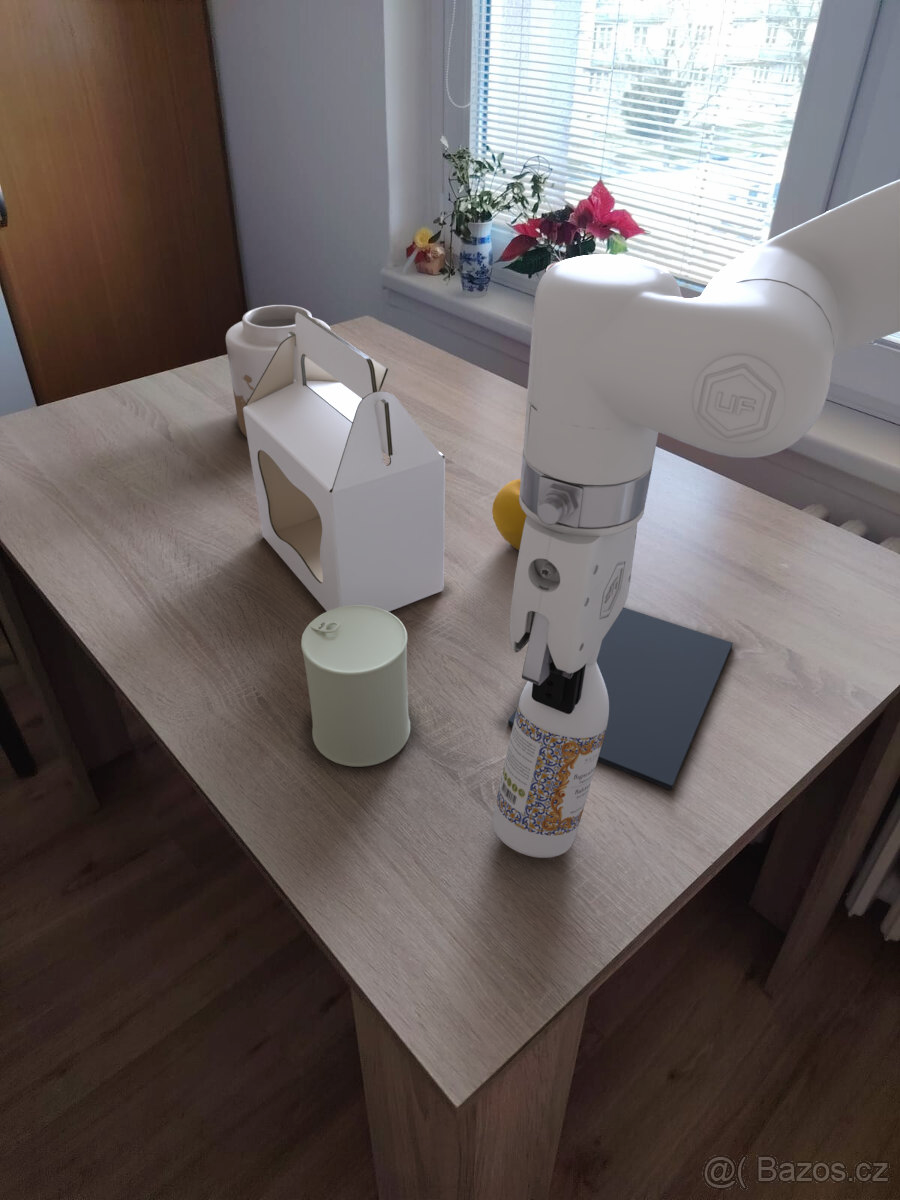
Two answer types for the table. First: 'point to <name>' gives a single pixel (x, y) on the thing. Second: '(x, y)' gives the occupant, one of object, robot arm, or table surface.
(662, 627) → the mat
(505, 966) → the table surface
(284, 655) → the table surface
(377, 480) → the gable box
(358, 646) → the can
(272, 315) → the vase
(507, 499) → the apple
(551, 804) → the bath foam
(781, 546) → the table surface
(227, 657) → the table surface
